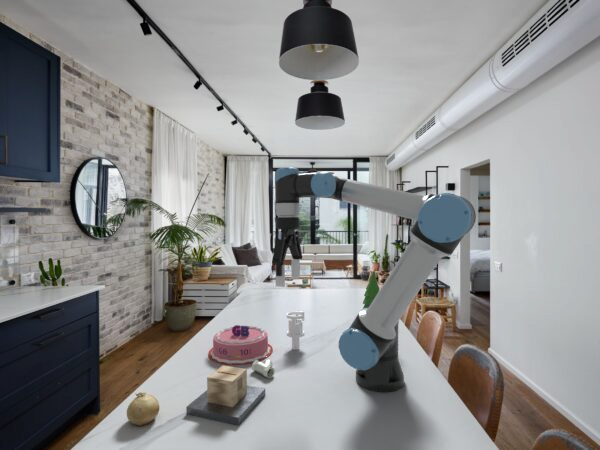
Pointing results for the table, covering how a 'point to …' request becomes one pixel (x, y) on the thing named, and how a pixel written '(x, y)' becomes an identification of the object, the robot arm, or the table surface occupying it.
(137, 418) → the onion
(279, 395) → the table surface
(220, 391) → the taped cardboard box
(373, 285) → the decorative tree
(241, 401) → the grey piece
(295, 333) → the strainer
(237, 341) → the cake
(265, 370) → the pipe fitting
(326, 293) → the table surface
